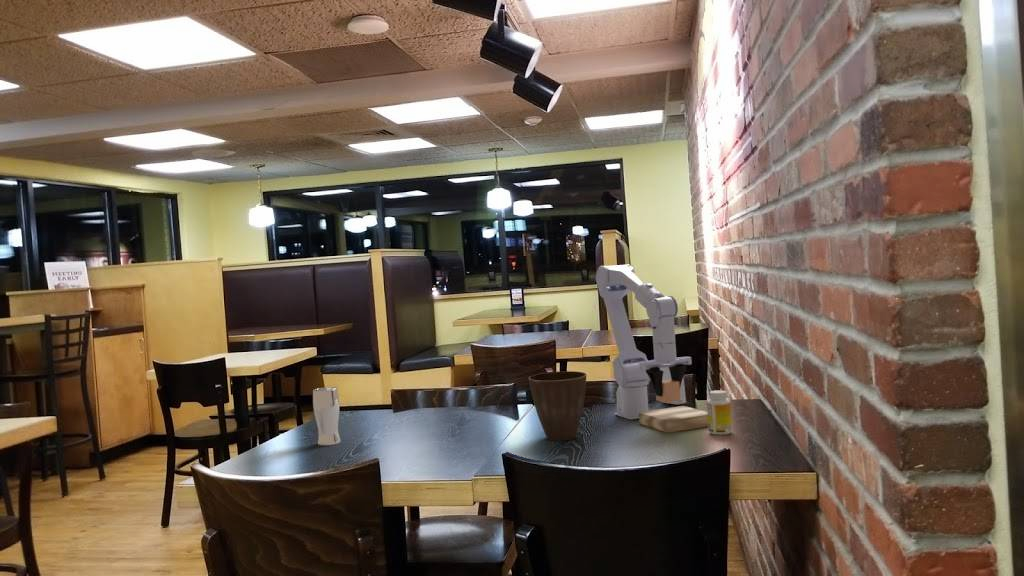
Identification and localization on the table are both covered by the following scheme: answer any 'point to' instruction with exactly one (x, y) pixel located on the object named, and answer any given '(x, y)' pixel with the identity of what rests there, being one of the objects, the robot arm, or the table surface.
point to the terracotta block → (669, 391)
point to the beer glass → (327, 415)
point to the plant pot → (559, 402)
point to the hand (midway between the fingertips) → (667, 394)
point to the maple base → (674, 419)
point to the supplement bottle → (719, 413)
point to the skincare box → (682, 389)
